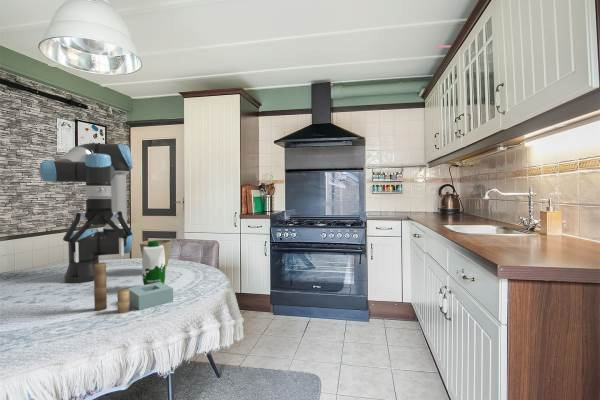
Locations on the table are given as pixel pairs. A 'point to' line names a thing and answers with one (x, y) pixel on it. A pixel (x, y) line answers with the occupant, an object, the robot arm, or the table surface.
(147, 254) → the milk carton
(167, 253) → the plant pot
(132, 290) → the socket block
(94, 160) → the robot arm
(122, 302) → the oak pin short
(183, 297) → the table surface
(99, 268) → the walnut pin long
